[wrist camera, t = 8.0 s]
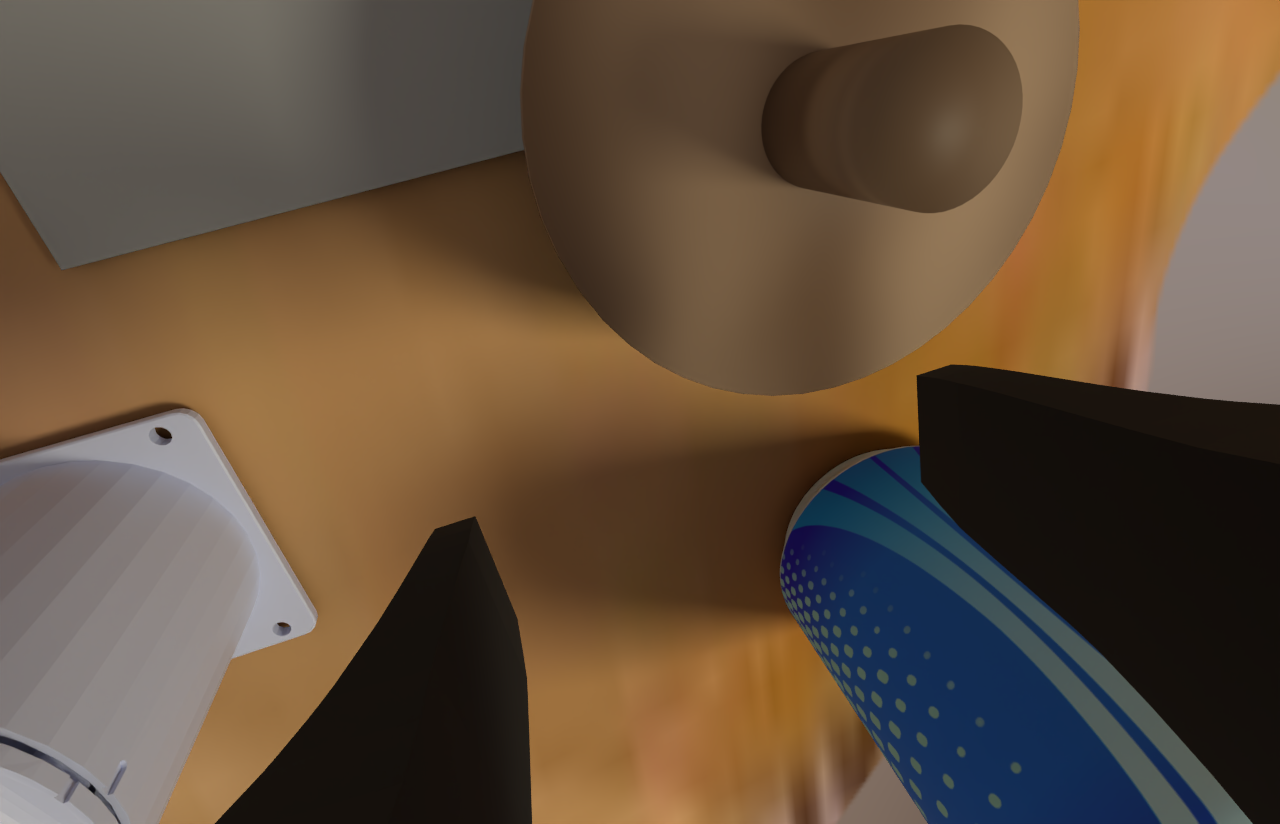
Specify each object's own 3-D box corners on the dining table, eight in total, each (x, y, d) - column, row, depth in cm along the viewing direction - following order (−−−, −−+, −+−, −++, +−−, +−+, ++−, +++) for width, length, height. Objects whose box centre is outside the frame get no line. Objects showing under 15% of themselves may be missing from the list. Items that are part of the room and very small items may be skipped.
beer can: (742, 481, 23) (1178, 1062, 9) (958, 395, 24) (1681, 807, 10) (788, 647, 27) (1145, 1241, 13) (973, 569, 28) (1509, 1049, 13)
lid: (627, 453, 16) (683, 570, 12) (411, -134, 11) (374, -292, 7) (1053, 285, 17) (1243, 339, 13) (1044, -332, 12) (1360, -579, 8)
